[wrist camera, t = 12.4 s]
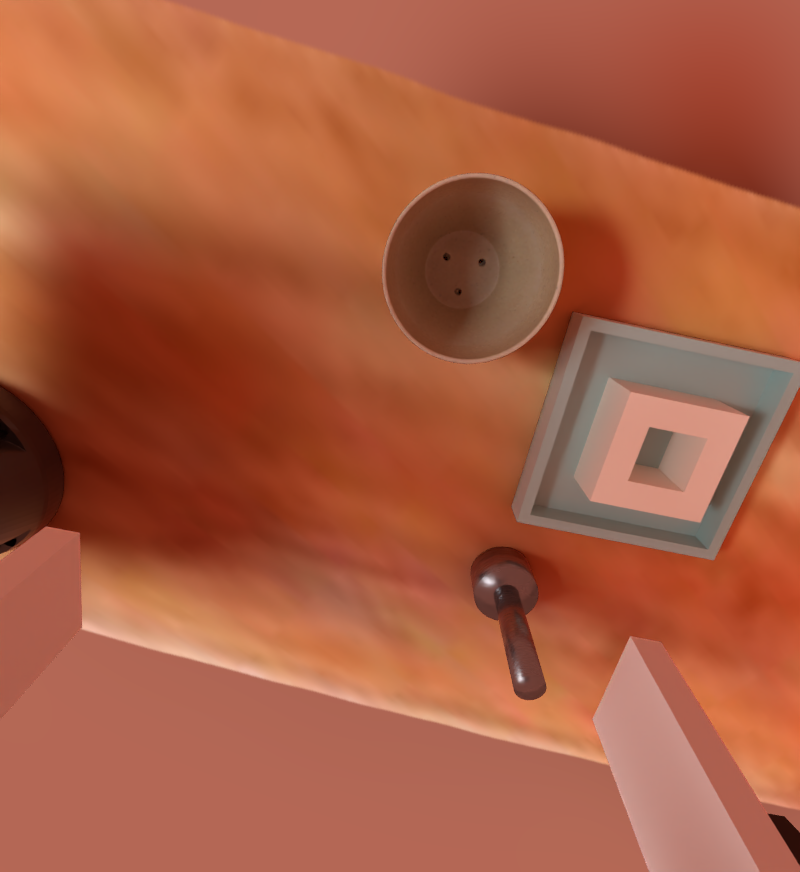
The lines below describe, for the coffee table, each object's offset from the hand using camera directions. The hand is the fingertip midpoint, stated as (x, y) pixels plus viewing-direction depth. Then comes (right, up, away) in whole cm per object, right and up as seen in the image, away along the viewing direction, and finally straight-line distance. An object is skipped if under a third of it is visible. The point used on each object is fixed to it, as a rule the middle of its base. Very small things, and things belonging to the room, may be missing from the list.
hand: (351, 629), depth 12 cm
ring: (+19, +4, +26) cm, 32 cm away
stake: (+10, -7, +31) cm, 33 cm away
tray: (+19, +5, +26) cm, 33 cm away
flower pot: (+5, +16, +23) cm, 28 cm away
